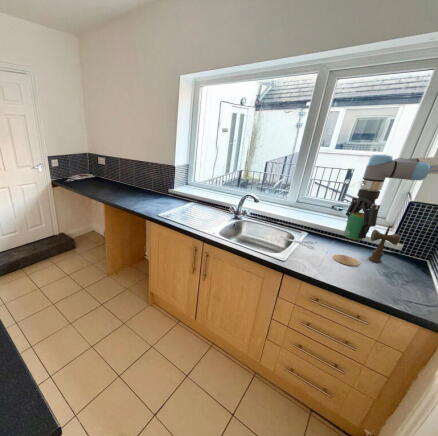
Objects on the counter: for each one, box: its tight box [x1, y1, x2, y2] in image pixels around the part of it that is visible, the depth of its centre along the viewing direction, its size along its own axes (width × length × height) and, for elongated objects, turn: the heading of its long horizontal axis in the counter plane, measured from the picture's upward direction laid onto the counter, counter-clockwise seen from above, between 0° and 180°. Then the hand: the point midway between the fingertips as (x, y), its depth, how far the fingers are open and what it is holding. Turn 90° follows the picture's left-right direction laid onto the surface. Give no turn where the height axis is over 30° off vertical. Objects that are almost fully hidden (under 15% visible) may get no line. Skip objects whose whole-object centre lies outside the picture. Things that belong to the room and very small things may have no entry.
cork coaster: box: [332, 254, 360, 267], centre depth 125 cm, size 11×11×1 cm
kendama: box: [368, 225, 401, 264], centre depth 121 cm, size 6×10×20 cm, turn 58°
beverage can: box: [343, 211, 364, 241], centre depth 119 cm, size 8×8×12 cm
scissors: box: [279, 235, 318, 250], centre depth 144 cm, size 11×1×20 cm
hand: (354, 234), depth 120 cm, fingers closed on beverage can, 8 cm apart
